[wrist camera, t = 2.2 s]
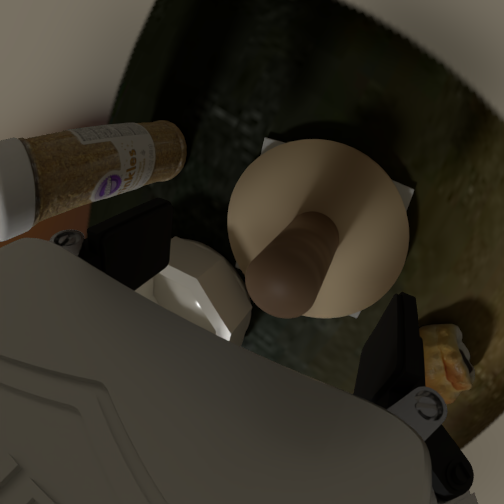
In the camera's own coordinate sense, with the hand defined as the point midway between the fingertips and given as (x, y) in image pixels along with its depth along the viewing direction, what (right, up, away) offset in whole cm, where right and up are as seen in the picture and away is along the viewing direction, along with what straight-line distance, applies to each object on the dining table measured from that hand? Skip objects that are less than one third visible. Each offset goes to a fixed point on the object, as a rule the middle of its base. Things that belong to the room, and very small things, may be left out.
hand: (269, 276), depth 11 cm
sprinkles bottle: (-7, +8, +9) cm, 14 cm away
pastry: (+12, -7, +7) cm, 16 cm away
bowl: (-5, -3, +13) cm, 14 cm away
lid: (+3, +2, +6) cm, 7 cm away
